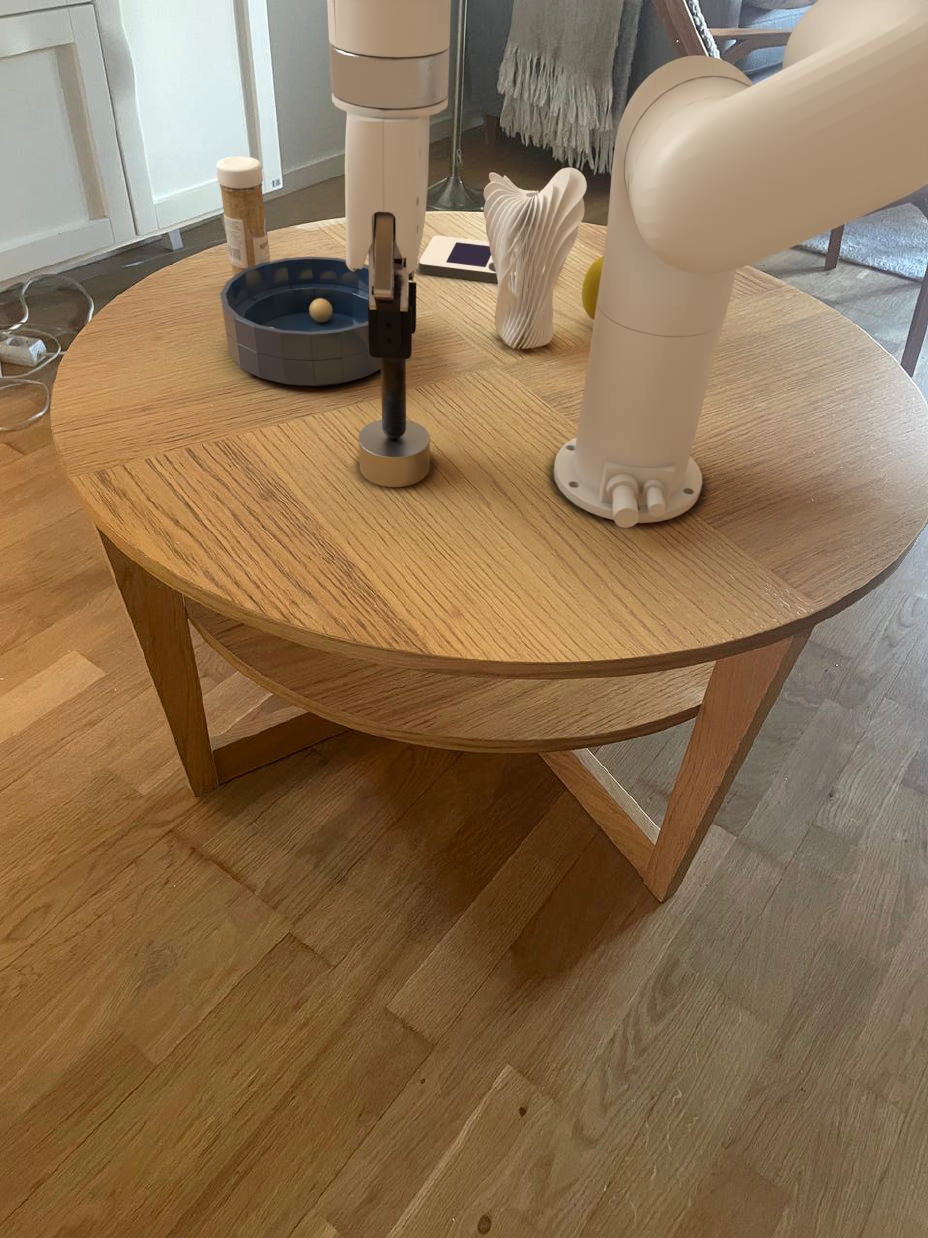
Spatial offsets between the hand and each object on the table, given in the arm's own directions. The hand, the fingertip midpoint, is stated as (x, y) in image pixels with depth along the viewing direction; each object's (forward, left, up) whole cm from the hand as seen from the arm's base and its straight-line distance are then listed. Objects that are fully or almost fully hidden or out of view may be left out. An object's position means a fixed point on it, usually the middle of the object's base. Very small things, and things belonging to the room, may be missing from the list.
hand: (393, 341), depth 71 cm
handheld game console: (+43, -7, -12) cm, 45 cm away
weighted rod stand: (0, 0, -12) cm, 12 cm away
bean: (+25, +10, -10) cm, 28 cm away
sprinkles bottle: (+33, +19, -12) cm, 40 cm away
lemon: (+29, -20, -12) cm, 37 cm away
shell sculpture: (+24, -11, -12) cm, 29 cm away
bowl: (+20, +10, -12) cm, 25 cm away
